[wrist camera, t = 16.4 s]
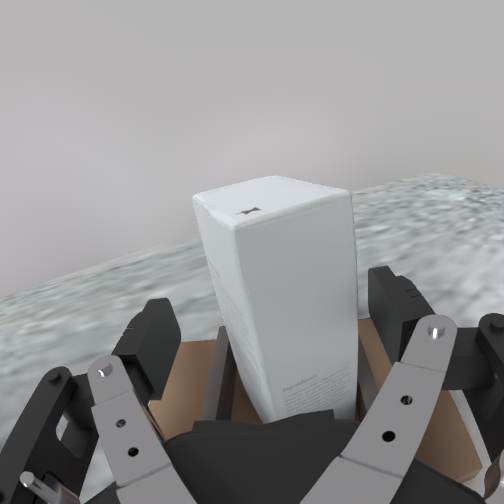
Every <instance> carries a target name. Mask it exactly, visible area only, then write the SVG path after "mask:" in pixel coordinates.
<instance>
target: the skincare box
mask: <svg viewBox="0 0 504 504" xmlns="http://www.w3.org/2000/svg"><path fill="white" fill-rule="evenodd" d="M192 200H193V205H194V209H195V213H196V217H197V221H198V225H199V230H200V234H201V237H202V242H203V246H204V250H205V254H206V258H207V262H208V266H209V269H210V273H211V277H212V280H213V284H214V288H215V291H216V295H217V299H218V302H219V306H220V310H221V313H222V317H223V320H224V323H225V327H226V330H227V334H228V337H229V341H230V344H231V348H232V351H233V354H234V358H235V361H236V364H237V368H238V371H239V374H240V378H241V381H242V384H243V387H244V390H245V392H246V394H247V395H248V397H249V399H250V401H251V403H252V405H253V406H254V408H255V410H256V412H257V413H258V415H259V417H260V419H261V420H262V422H263V424H267V423H271V422H274V421H277V420H281V419H284V418H287V417H290V416H293V415H296V414H302V413H309V412H316V411H323V410H329V409H333V412H334V417H335V418H336V419H346V420H352V421H355V409H356V391H357V369H358V285H357V261H356V242H355V229H354V217H353V205H352V196H351V192H350V191H349V190H344V189H338V188H333V187H328V186H324V185H318V184H314V183H309V182H306V181H300V180H296V179H291V178H286V177H280V176H275V175H271V176H267V177H262V178H258V179H254V180H250V181H245V182H242V183H238V184H234V185H230V186H226V187H222V188H218V189H215V190H210V191H207V192H202V193H199V194H196V195H194V196H193V198H192Z"/></svg>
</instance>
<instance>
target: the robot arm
mask: <svg viewBox="0 0 504 504" xmlns="http://www.w3.org/2000/svg"><path fill="white" fill-rule="evenodd" d="M368 307H369V313H370V317H371V319H372V321H373V324H374V326H375V328H376V330H377V333H378V335H379V337H380V339H381V342H382V344H383V346H384V349H385V351H386V353H387V356H388V358H389V360H390V363H391V365H392V369H391V371H390V373H389V375H388V376H387V378H386V380H385V382H384V384H383V386H382V388H381V390H380V391H379V393H378V395H377V397H376V399H375V400H374V402H373V404H372V406H371V407H370V409H369V411H368V413H367V414H366V416H365V418H364V419H363V421H362V423H359V422H356V421H352V420H346V419H336V418H335V417H334V412H333V409H329V410H323V411H316V412H309V413H302V414H296V415H293V416H290V417H287V418H284V419H281V420H277V421H274V422H271V423H267V424H263V425H256V424H249V423H242V422H236V421H230V420H200V421H194V423H193V428H192V430H191V431H187V432H184V433H181V434H179V435H176V436H174V437H172V438H170V439H168V440H167V438H166V437H165V435H164V433H163V432H162V430H161V428H160V426H159V425H158V423H157V421H156V419H155V417H154V416H153V414H152V412H151V410H150V409H149V407H148V403H149V400H159V401H161V399H162V396H163V393H164V390H165V387H166V384H167V381H168V378H169V375H170V372H171V369H172V366H173V363H174V360H175V357H176V354H177V351H178V348H179V346H180V342H181V332H180V328H179V325H178V322H177V320H176V317H175V314H174V312H173V309H172V306H171V303H170V301H169V300H168V299H167V298H160V299H151V300H149V301H148V302H147V304H146V306H145V307H144V309H143V311H142V312H139V313H138V314H137V315H136V316H135V317H134V318H133V319H132V320H131V321H130V323H129V324H128V326H127V329H125V331H124V333H123V336H121V338H120V340H119V341H118V343H117V345H116V347H115V348H114V350H113V352H112V354H111V355H108V356H104V357H101V358H99V359H97V360H96V361H95V362H93V363H92V364H91V366H90V367H89V369H88V372H87V373H86V374H81V375H77V376H73V375H72V374H71V372H70V371H69V369H68V368H66V367H56V368H54V369H52V370H50V371H49V372H47V373H46V374H45V375H44V377H43V378H42V380H41V381H40V383H39V385H38V386H37V388H36V390H35V391H34V393H33V395H32V396H31V398H30V400H29V401H28V403H27V405H26V407H25V408H24V410H23V412H22V414H21V415H20V417H19V419H18V421H17V423H16V424H15V426H14V428H13V430H12V432H11V434H10V436H9V438H8V439H7V441H6V443H5V445H4V447H3V449H2V451H1V453H0V504H80V501H79V496H80V492H81V489H82V486H83V483H84V480H85V477H86V474H87V471H88V468H89V465H90V462H91V459H92V456H93V453H94V450H95V447H96V444H97V441H98V439H99V437H100V440H101V443H102V446H103V449H104V452H105V454H106V457H107V460H108V463H109V465H110V468H111V471H112V473H113V476H114V478H115V482H113V483H112V484H111V485H109V486H108V487H107V488H105V489H104V490H103V491H101V492H100V493H98V494H97V495H96V496H94V497H93V498H92V499H90V500H89V501H87V502H86V503H85V504H504V315H502V314H498V313H490V314H487V315H485V316H483V317H482V318H481V319H480V321H479V325H478V327H475V328H457V326H456V324H455V322H454V321H453V320H451V319H450V318H448V317H446V316H443V315H436V314H435V312H434V311H433V309H432V308H431V307H430V305H429V304H428V303H427V301H426V300H425V299H424V297H423V296H421V293H420V292H419V291H418V290H417V288H416V287H415V285H414V284H413V283H412V281H410V280H409V279H407V278H405V277H403V276H395V275H394V273H393V272H392V271H391V269H390V268H389V267H388V266H382V267H376V268H370V269H369V271H368ZM440 390H462V391H463V393H464V395H465V397H466V400H467V402H468V404H469V406H470V409H471V411H472V413H473V416H474V418H475V421H476V423H477V425H478V428H479V430H480V433H481V436H482V438H483V441H484V443H485V446H486V449H487V451H488V454H489V457H490V460H491V463H492V464H491V465H490V467H489V468H488V470H487V472H486V474H485V480H484V483H485V495H484V498H482V497H481V496H480V495H479V494H478V493H477V492H475V491H473V490H472V489H470V488H468V487H466V486H464V485H463V484H461V483H459V482H457V481H456V480H454V479H452V478H450V477H449V476H447V475H445V474H444V473H442V472H440V471H439V470H437V469H435V468H434V467H432V466H430V465H429V464H427V463H425V462H424V461H422V460H421V459H419V458H417V457H416V456H415V454H416V451H417V449H418V447H419V445H420V442H421V440H422V438H423V435H424V433H425V431H426V428H427V426H428V423H429V421H430V418H431V415H432V413H433V410H434V407H435V405H436V402H437V399H438V396H439V393H440ZM62 414H63V416H64V417H65V418H66V419H67V421H68V425H67V427H66V429H65V431H64V434H63V436H62V438H61V441H59V439H58V438H57V435H56V427H57V425H58V423H59V420H60V418H61V416H62Z"/></svg>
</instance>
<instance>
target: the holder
mask: <svg viewBox="0 0 504 504" xmlns="http://www.w3.org/2000/svg"><path fill="white" fill-rule="evenodd" d="M391 369H392V365H391V363H390V360H389V358H388V356H387V353H386V351H385V349H384V346H383V344H382V342H381V339H380V337H379V335H378V333H377V330H376V328H375V326H374V324H373V321H372V319H371V318H366V319H360V320H358V369H357V391H356V409H355V421H356V422H359V423H362V421H363V419H364V418H365V416H366V414H367V413H368V411H369V409H370V407H371V406H372V404H373V402H374V400H375V399H376V397H377V395H378V393H379V391H380V390H381V388H382V386H383V384H384V382H385V380H386V378H387V376H388V375H389V373H390V371H391ZM149 409H150V410H151V412H152V414H153V416H154V417H155V419H156V421H157V423H158V425H159V426H160V428H161V430H162V432H163V433H164V435H165V437H166V438H167V440H168V439H170V438H172V437H174V436H176V435H179V434H181V433H184V432H187V431H191V430H192V428H193V423H194V421H200V420H230V421H236V422H242V423H249V424H256V425H263V422H262V420H261V419H260V417H259V415H258V413H257V412H256V410H255V408H254V406H253V405H252V403H251V401H250V399H249V397H248V395H247V394H246V392H245V390H244V387H243V384H242V381H241V378H240V374H239V371H238V368H237V364H236V361H235V358H234V354H233V351H232V348H231V344H230V341H229V337H228V334H227V330H226V327H225V326H221V327H219V332H218V336H217V339H216V340H205V341H192V342H180V346H179V348H178V351H177V354H176V357H175V360H174V363H173V366H172V369H171V372H170V375H169V378H168V381H167V384H166V387H165V390H164V393H163V396H162V399H161V401H159V400H151V402H150V405H149ZM415 456H416V457H417V458H419V459H421V460H422V461H424V462H425V463H427V464H429V465H430V466H432V467H434V468H435V469H437V470H439V471H440V472H442V473H444V474H445V475H447V476H449V477H450V478H452V479H454V480H456V481H457V482H459V483H462V482H464V481H467V480H469V479H471V478H474V477H475V476H476V475H477V473H478V472H479V471H480V470H481V469H482V464H481V462H480V459H479V457H478V455H477V452H476V450H475V447H474V445H473V443H472V440H471V438H470V436H469V434H468V431H467V429H466V427H465V425H464V422H463V420H462V418H461V416H460V414H459V412H458V410H457V408H456V405H455V403H454V401H453V399H452V397H451V395H450V393H449V391H448V390H440V393H439V396H438V399H437V402H436V405H435V407H434V410H433V413H432V415H431V418H430V421H429V423H428V426H427V428H426V431H425V433H424V435H423V438H422V440H421V442H420V445H419V447H418V449H417V451H416V454H415Z"/></svg>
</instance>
